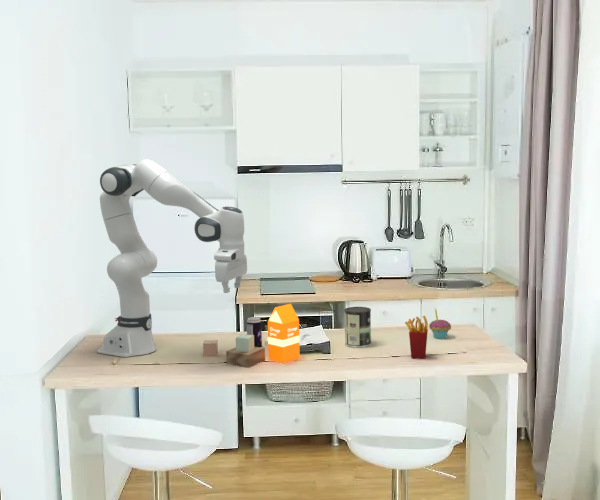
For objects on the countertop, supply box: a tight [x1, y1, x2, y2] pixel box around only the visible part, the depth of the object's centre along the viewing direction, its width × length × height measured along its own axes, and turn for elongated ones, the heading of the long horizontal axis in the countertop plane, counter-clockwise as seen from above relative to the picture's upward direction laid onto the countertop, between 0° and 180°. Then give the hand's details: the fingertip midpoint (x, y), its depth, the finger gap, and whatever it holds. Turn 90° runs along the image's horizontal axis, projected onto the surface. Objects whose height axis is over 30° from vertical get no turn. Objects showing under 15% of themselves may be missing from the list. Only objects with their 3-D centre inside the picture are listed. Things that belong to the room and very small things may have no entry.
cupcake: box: [428, 308, 452, 340], centre depth 306 cm, size 9×8×12 cm
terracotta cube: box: [202, 339, 219, 358], centre depth 289 cm, size 5×5×5 cm
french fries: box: [404, 315, 429, 360], centre depth 280 cm, size 9×8×15 cm
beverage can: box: [246, 316, 263, 348], centre depth 295 cm, size 6×6×12 cm
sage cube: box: [235, 334, 254, 352], centre depth 277 cm, size 5×5×5 cm
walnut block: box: [225, 347, 266, 369], centre depth 278 cm, size 10×10×5 cm
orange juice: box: [267, 303, 301, 364], centre depth 280 cm, size 8×9×20 cm
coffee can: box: [344, 306, 372, 349], centre depth 298 cm, size 10×10×14 cm
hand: (232, 290), depth 276 cm, fingers open, 8 cm apart
